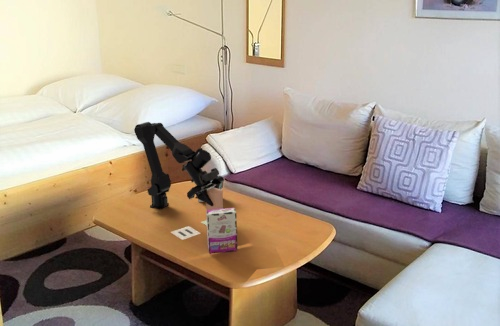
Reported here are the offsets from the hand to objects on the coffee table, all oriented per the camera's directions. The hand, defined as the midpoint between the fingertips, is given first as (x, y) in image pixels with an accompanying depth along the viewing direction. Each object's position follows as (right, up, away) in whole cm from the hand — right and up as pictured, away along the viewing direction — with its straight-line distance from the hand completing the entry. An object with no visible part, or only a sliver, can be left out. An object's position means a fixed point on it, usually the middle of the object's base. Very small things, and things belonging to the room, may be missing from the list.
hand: (216, 203), depth 230 cm
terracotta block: (-1, -6, +3) cm, 6 cm away
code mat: (-7, -11, -1) cm, 13 cm away
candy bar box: (+3, -17, -18) cm, 24 cm away
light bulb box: (-5, -1, +30) cm, 30 cm away
